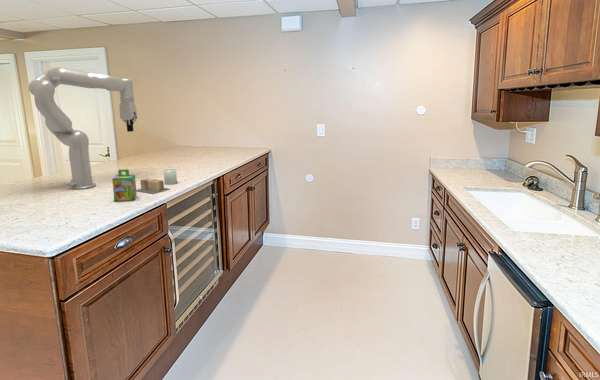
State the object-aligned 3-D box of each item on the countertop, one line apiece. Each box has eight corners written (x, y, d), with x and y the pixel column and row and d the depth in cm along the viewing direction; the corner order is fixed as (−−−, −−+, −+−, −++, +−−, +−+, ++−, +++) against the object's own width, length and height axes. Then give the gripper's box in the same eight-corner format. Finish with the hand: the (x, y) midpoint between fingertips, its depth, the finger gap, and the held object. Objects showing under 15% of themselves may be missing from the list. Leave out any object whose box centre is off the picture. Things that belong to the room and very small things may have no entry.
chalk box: (114, 202, 181) (110, 172, 177) (117, 197, 189) (114, 168, 186) (134, 200, 183) (131, 171, 180) (137, 196, 192) (134, 167, 188)
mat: (153, 194, 196) (153, 193, 196) (134, 191, 202) (134, 190, 202) (170, 189, 206) (170, 188, 206) (151, 186, 212) (151, 185, 212)
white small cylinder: (170, 185, 216) (169, 171, 214) (162, 183, 219) (160, 170, 217) (179, 182, 222) (178, 169, 220) (170, 181, 225) (169, 168, 223)
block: (141, 188, 205) (156, 191, 200) (140, 179, 204) (156, 182, 199) (148, 186, 210) (164, 189, 204) (147, 178, 208) (163, 180, 203)
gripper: (113, 100, 221) (116, 131, 226) (130, 100, 215) (133, 132, 219) (124, 100, 228) (127, 130, 232) (141, 100, 222) (144, 131, 226)
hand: (130, 131), depth 226 cm, fingers closed
